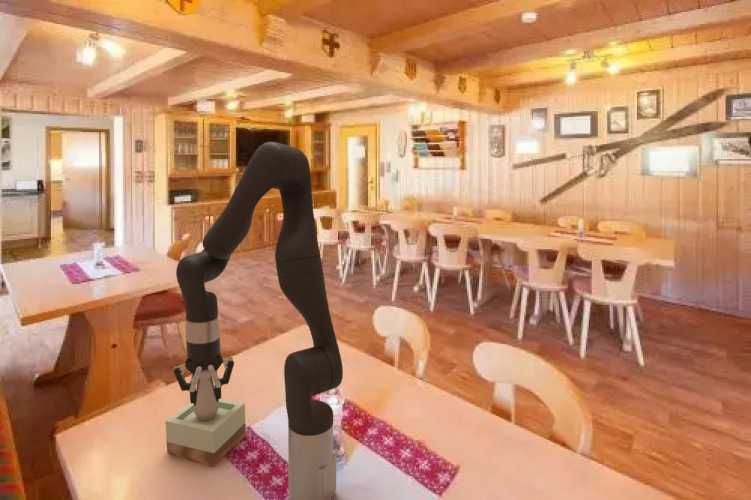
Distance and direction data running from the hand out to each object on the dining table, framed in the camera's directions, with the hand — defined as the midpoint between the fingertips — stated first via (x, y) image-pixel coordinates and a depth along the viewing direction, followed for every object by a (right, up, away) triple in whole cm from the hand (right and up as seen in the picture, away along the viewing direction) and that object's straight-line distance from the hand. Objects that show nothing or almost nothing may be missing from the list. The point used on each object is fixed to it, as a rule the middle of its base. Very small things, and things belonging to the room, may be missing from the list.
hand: (205, 401), depth 113 cm
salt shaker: (0, -4, +1) cm, 4 cm away
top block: (0, -8, +1) cm, 8 cm away
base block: (0, -12, +2) cm, 12 cm away
